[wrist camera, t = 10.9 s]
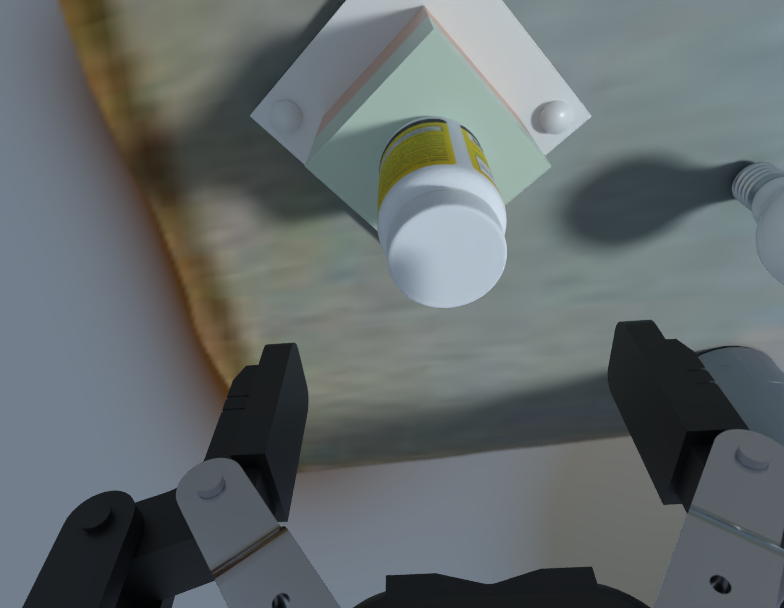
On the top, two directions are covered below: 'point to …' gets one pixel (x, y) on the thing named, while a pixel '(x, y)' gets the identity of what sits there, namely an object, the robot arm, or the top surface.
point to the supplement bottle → (440, 214)
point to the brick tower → (419, 92)
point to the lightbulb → (765, 211)
